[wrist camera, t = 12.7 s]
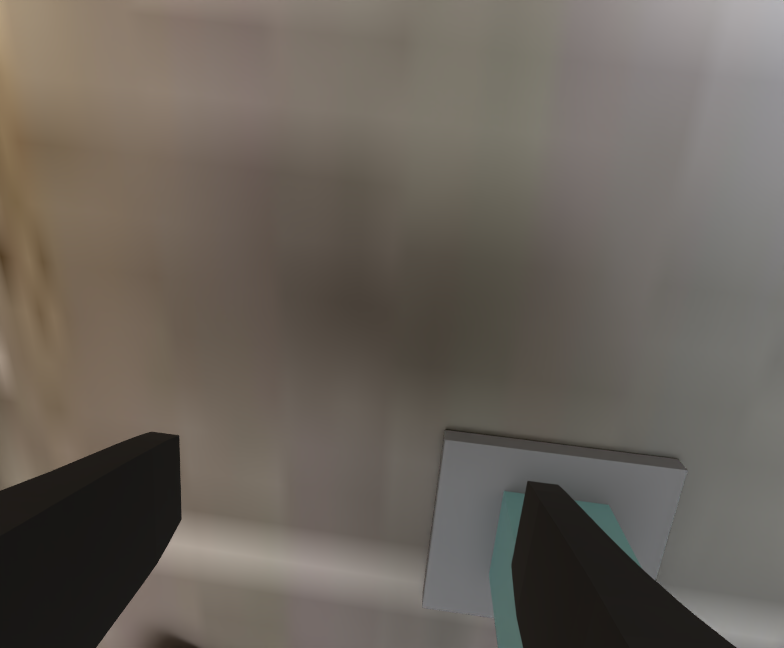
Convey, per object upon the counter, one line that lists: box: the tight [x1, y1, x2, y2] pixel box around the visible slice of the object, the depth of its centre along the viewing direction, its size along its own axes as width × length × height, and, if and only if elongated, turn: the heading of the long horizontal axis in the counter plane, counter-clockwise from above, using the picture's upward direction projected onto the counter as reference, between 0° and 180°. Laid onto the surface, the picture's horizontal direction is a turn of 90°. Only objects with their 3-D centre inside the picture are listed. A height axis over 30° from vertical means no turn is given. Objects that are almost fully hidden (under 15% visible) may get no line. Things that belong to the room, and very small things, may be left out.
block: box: [489, 491, 642, 648], centre depth 17 cm, size 4×4×6 cm
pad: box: [422, 430, 688, 618], centre depth 21 cm, size 9×8×1 cm
